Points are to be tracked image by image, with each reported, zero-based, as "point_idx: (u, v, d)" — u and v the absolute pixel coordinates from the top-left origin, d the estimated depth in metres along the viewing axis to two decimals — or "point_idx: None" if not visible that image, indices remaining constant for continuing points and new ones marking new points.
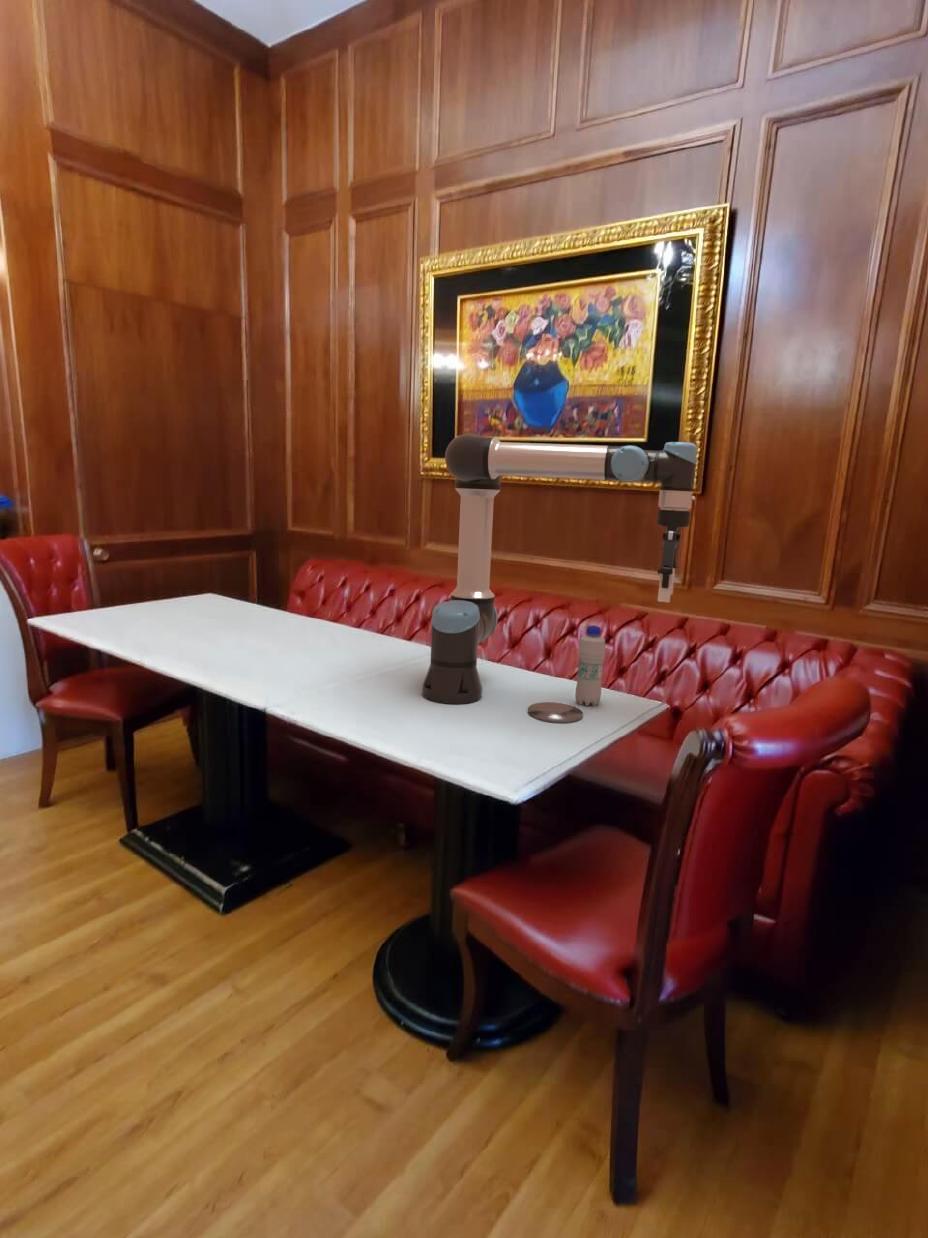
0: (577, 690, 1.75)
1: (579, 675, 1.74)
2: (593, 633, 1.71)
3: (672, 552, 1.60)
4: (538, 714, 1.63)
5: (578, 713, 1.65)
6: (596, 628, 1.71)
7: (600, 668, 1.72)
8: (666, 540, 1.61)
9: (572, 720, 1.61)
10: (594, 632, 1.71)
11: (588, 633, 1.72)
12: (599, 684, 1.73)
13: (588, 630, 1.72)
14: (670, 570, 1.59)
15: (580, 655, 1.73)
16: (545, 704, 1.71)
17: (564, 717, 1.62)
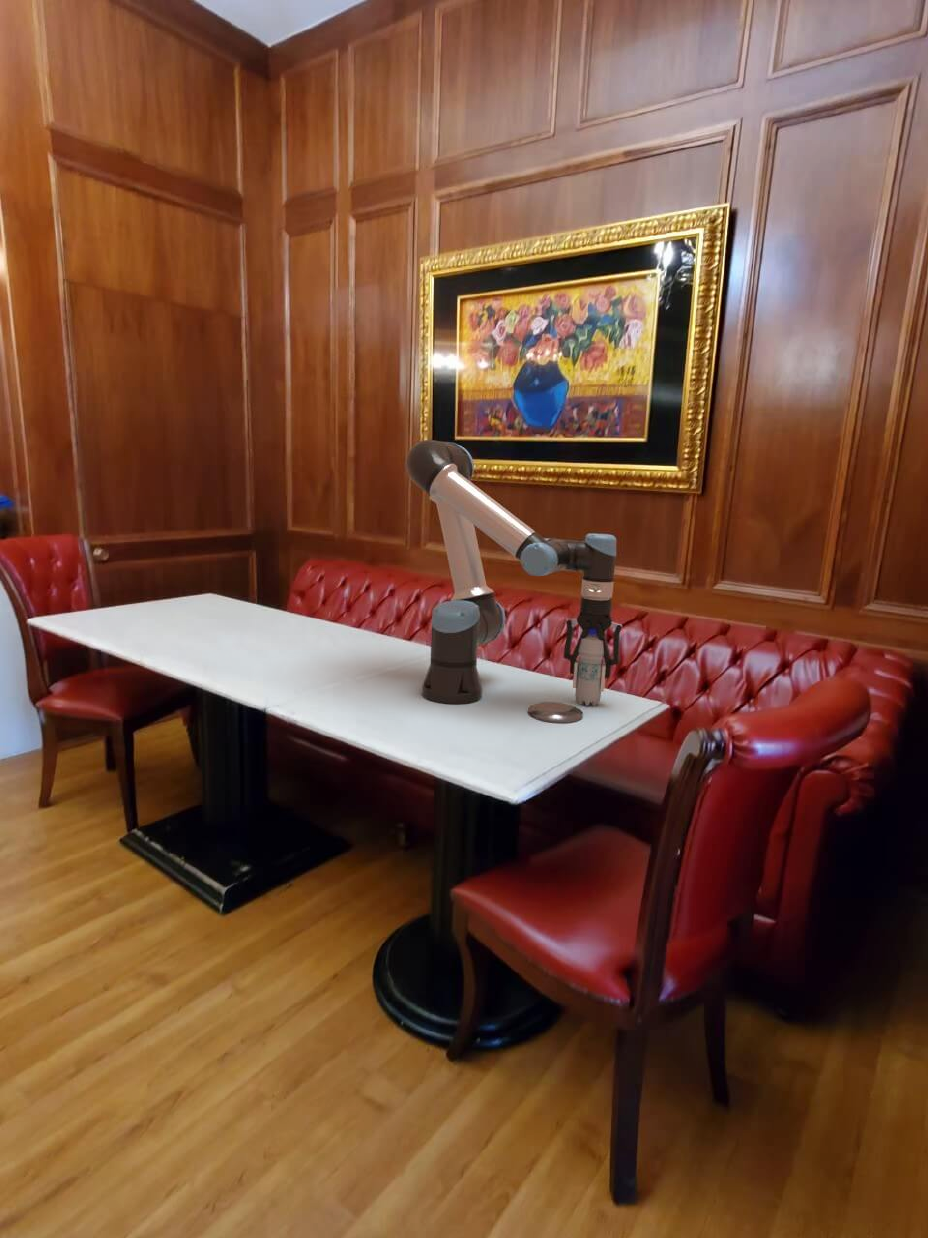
0: (577, 690, 1.75)
1: (579, 675, 1.74)
2: (593, 633, 1.71)
3: (566, 640, 1.74)
4: (538, 714, 1.63)
5: (578, 713, 1.65)
6: (596, 628, 1.71)
7: (600, 668, 1.72)
8: None
9: (572, 720, 1.61)
10: (594, 632, 1.71)
11: (588, 633, 1.72)
12: (599, 684, 1.73)
13: (588, 630, 1.72)
14: (564, 656, 1.75)
15: (580, 655, 1.73)
16: (545, 704, 1.71)
17: (564, 717, 1.62)
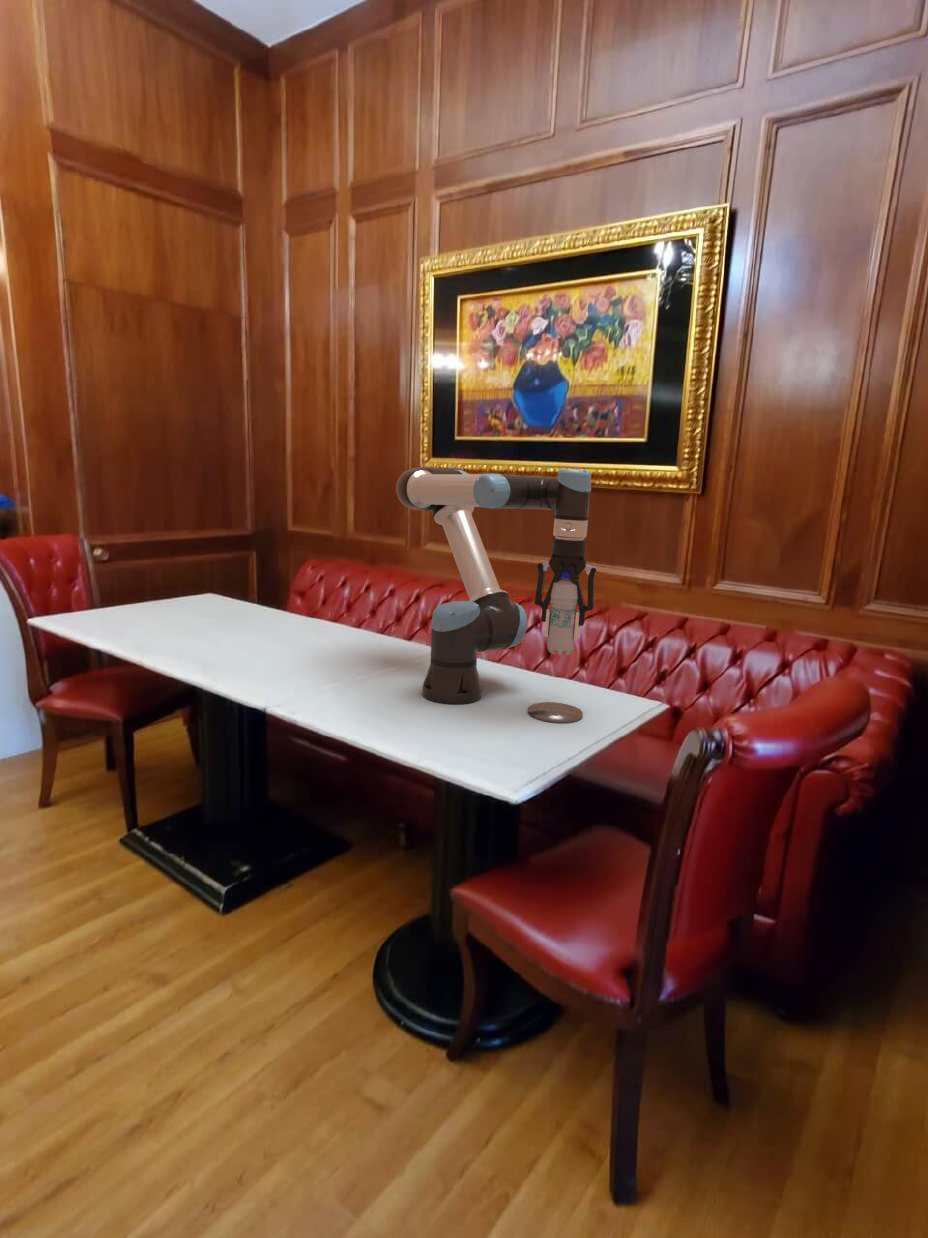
0: (549, 639, 1.63)
1: (551, 622, 1.62)
2: (566, 576, 1.59)
3: (537, 585, 1.62)
4: (538, 714, 1.63)
5: (578, 713, 1.65)
6: (569, 571, 1.59)
7: (573, 614, 1.61)
8: None
9: (572, 720, 1.61)
10: (567, 575, 1.59)
11: (561, 577, 1.60)
12: (572, 632, 1.61)
13: (561, 573, 1.60)
14: (535, 603, 1.63)
15: (552, 601, 1.61)
16: (545, 704, 1.71)
17: (564, 717, 1.62)
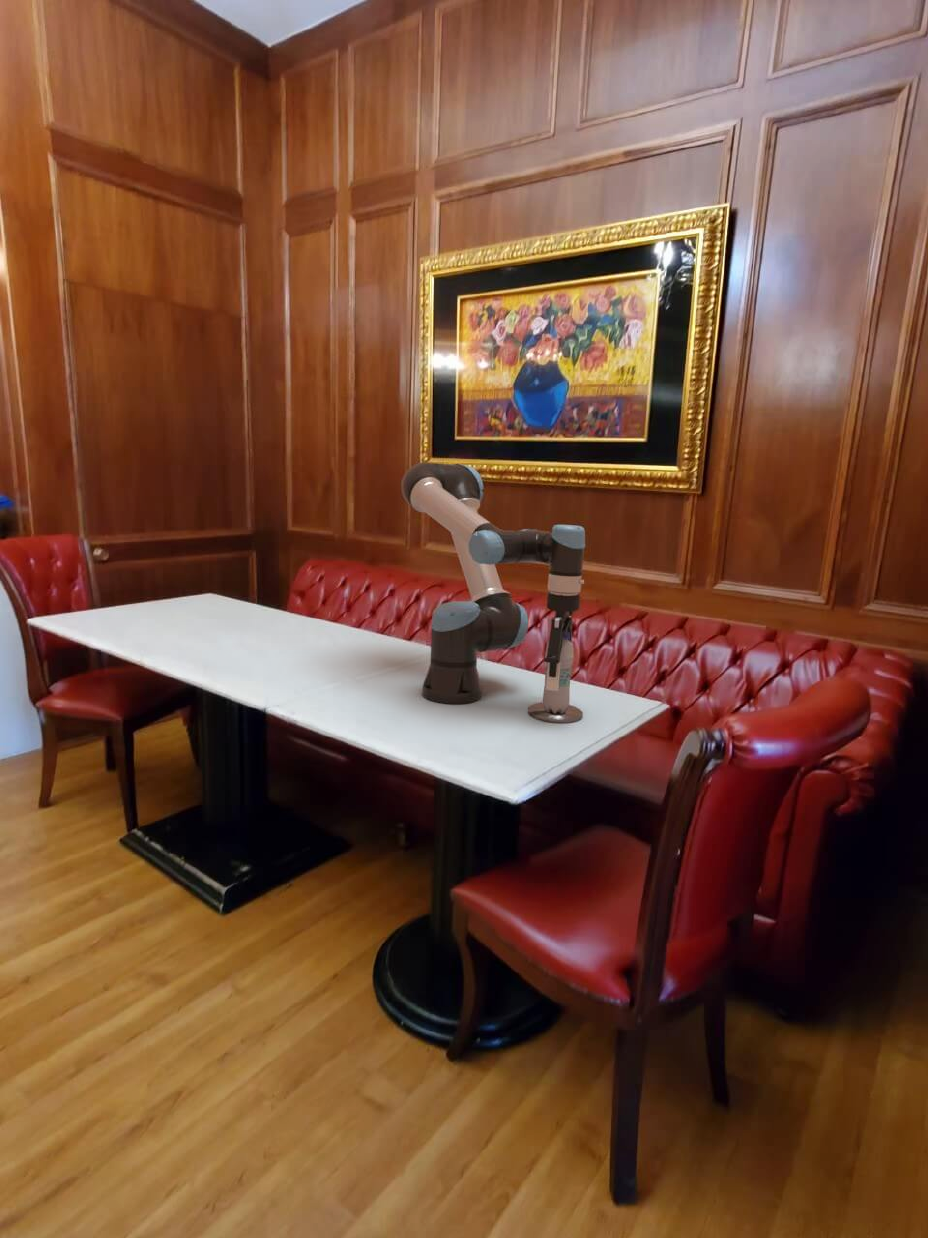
0: (561, 700, 1.63)
1: (563, 684, 1.62)
2: (568, 635, 1.63)
3: (558, 641, 1.55)
4: (538, 714, 1.63)
5: (578, 713, 1.65)
6: None
7: None
8: (552, 628, 1.56)
9: (572, 720, 1.61)
10: (568, 634, 1.63)
11: (565, 637, 1.62)
12: None
13: None
14: (555, 660, 1.54)
15: (566, 662, 1.61)
16: None
17: (564, 717, 1.62)
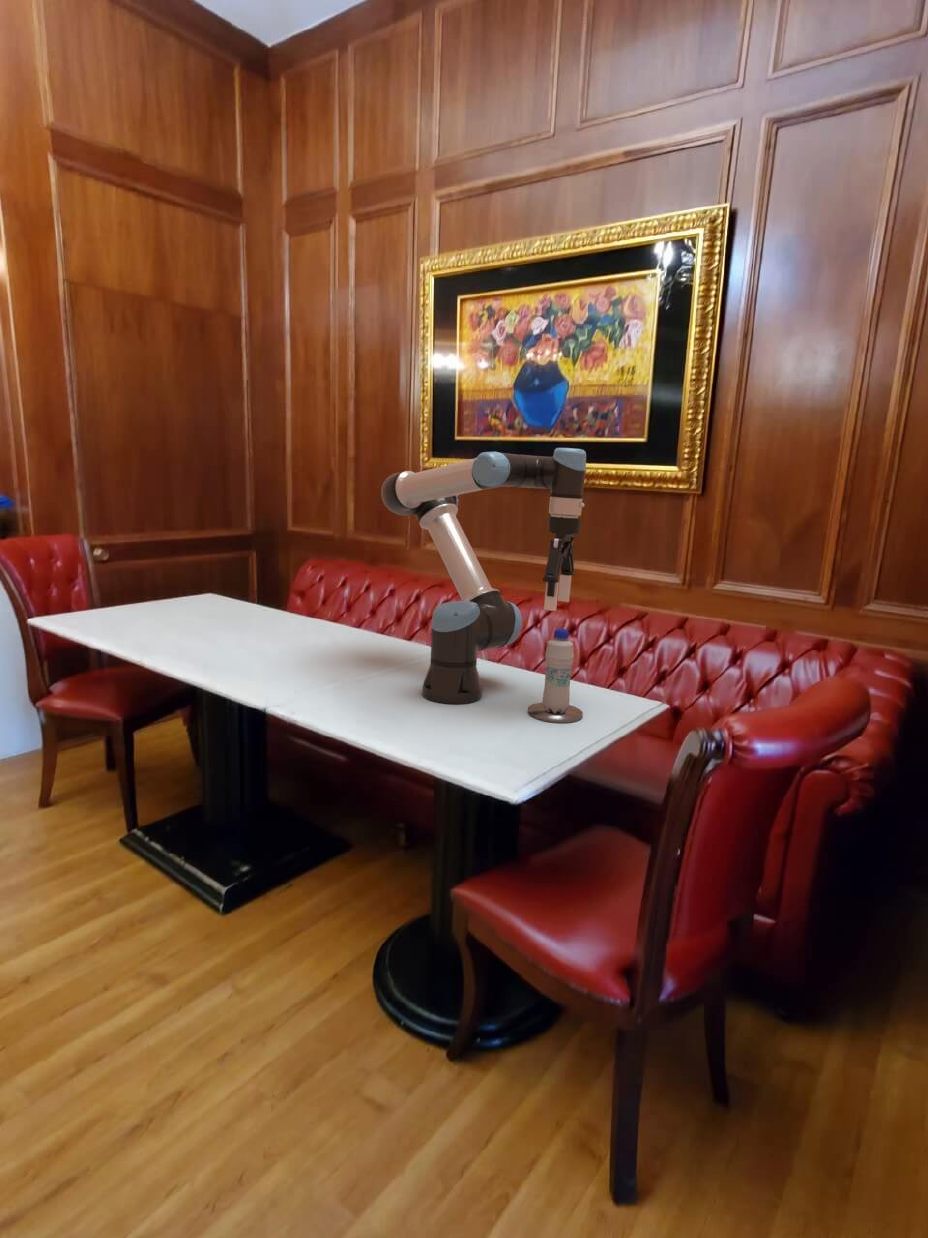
0: (562, 700, 1.63)
1: (563, 684, 1.62)
2: (568, 636, 1.63)
3: (556, 560, 1.57)
4: (538, 714, 1.63)
5: (578, 713, 1.65)
6: (566, 630, 1.63)
7: None
8: (551, 548, 1.58)
9: (572, 720, 1.61)
10: (568, 634, 1.63)
11: (566, 637, 1.62)
12: None
13: (565, 634, 1.62)
14: (553, 578, 1.56)
15: (566, 663, 1.61)
16: None
17: (564, 717, 1.62)
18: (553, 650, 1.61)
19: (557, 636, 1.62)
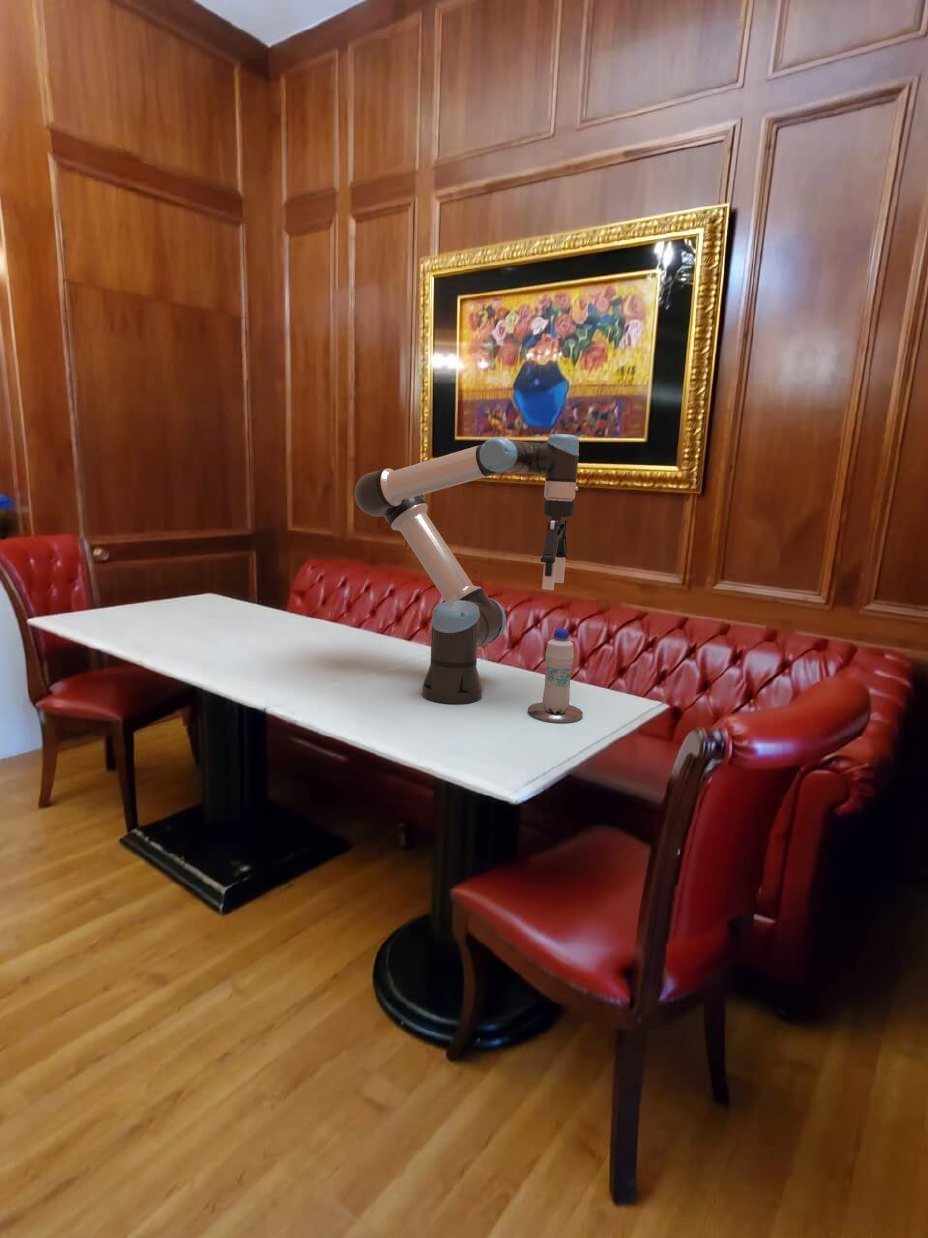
0: (562, 700, 1.63)
1: (563, 684, 1.62)
2: (568, 636, 1.63)
3: (553, 541, 1.65)
4: (538, 714, 1.63)
5: (578, 713, 1.65)
6: (566, 630, 1.63)
7: None
8: (548, 529, 1.66)
9: (572, 720, 1.61)
10: (568, 634, 1.63)
11: (565, 637, 1.62)
12: None
13: (565, 634, 1.61)
14: (551, 558, 1.64)
15: (566, 663, 1.61)
16: None
17: (564, 717, 1.62)
18: (553, 651, 1.61)
19: (557, 636, 1.62)
